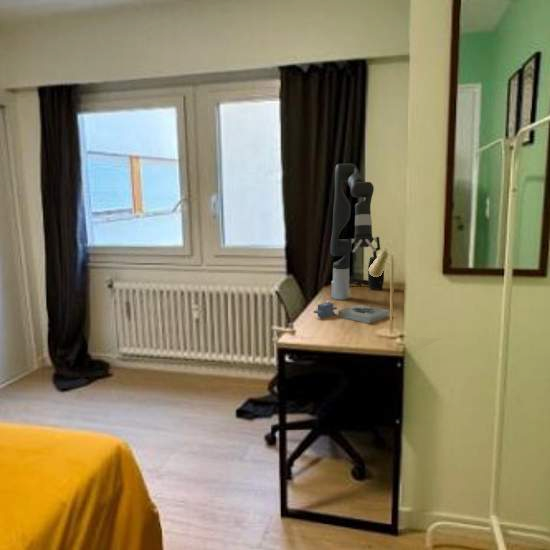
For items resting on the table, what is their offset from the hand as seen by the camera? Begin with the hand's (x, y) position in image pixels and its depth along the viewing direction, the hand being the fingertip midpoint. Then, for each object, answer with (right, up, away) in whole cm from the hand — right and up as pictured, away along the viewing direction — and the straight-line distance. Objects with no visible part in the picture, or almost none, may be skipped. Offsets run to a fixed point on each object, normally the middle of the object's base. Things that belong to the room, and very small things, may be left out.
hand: (364, 260), depth 230 cm
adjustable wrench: (+10, -14, +84) cm, 86 cm away
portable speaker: (+20, -16, +74) cm, 78 cm away
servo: (-16, -27, +17) cm, 36 cm away
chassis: (+2, -27, +14) cm, 31 cm away
